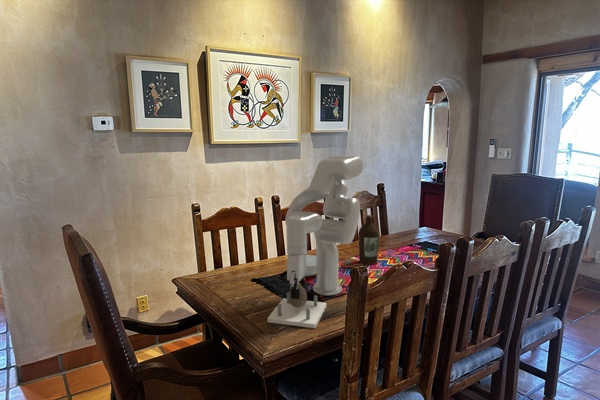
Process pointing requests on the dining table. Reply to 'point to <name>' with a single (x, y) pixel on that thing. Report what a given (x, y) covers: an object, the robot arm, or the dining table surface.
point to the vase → (302, 298)
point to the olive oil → (368, 242)
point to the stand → (298, 313)
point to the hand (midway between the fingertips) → (297, 293)
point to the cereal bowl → (310, 265)
